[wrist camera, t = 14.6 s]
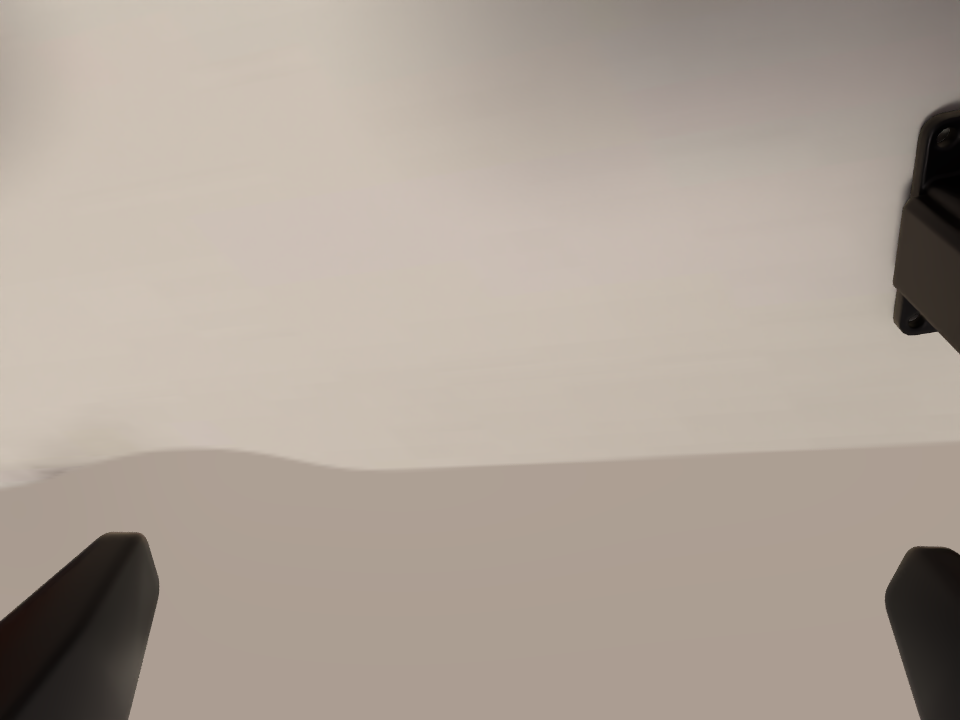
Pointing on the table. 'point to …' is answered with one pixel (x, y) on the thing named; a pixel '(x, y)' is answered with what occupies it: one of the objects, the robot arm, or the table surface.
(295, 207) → the table surface
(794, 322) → the table surface
